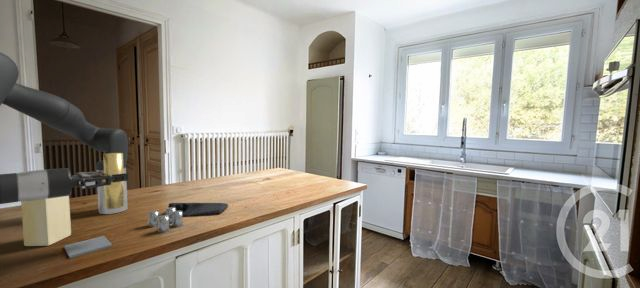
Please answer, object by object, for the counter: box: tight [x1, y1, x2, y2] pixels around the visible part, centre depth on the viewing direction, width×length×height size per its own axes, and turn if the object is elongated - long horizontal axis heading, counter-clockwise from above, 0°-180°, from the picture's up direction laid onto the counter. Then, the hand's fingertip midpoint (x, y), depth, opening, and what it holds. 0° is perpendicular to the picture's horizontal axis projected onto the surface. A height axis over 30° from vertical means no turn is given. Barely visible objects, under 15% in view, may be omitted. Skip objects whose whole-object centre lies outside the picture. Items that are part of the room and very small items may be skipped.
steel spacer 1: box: [147, 210, 160, 228], centre depth 92 cm, size 3×3×5 cm
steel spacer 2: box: [157, 214, 170, 234], centre depth 87 cm, size 3×3×5 cm
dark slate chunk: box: [167, 202, 229, 218], centre depth 108 cm, size 15×22×5 cm
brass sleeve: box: [102, 152, 124, 209], centre depth 78 cm, size 5×5×16 cm
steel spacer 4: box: [171, 210, 184, 228], centre depth 92 cm, size 3×3×5 cm
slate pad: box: [63, 235, 113, 259], centre depth 76 cm, size 9×9×1 cm
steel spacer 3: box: [165, 207, 176, 224], centre depth 95 cm, size 3×3×5 cm
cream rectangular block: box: [20, 195, 72, 247], centre depth 79 cm, size 8×7×21 cm
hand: (124, 175), depth 80 cm, fingers closed on brass sleeve, 4 cm apart
